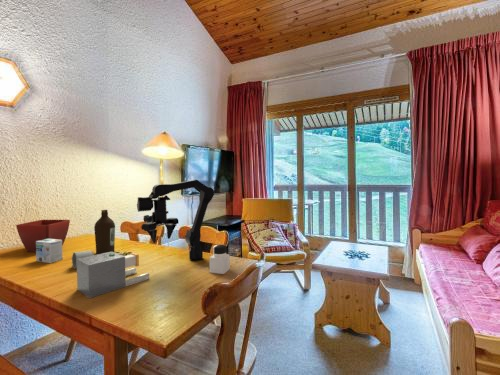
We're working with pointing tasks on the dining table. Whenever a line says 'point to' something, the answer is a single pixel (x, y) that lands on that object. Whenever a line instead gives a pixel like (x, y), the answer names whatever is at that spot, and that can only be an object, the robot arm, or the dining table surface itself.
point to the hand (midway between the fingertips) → (161, 240)
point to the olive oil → (104, 234)
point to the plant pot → (42, 232)
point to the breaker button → (132, 260)
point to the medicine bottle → (219, 260)
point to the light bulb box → (49, 250)
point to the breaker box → (104, 274)
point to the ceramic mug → (80, 256)
